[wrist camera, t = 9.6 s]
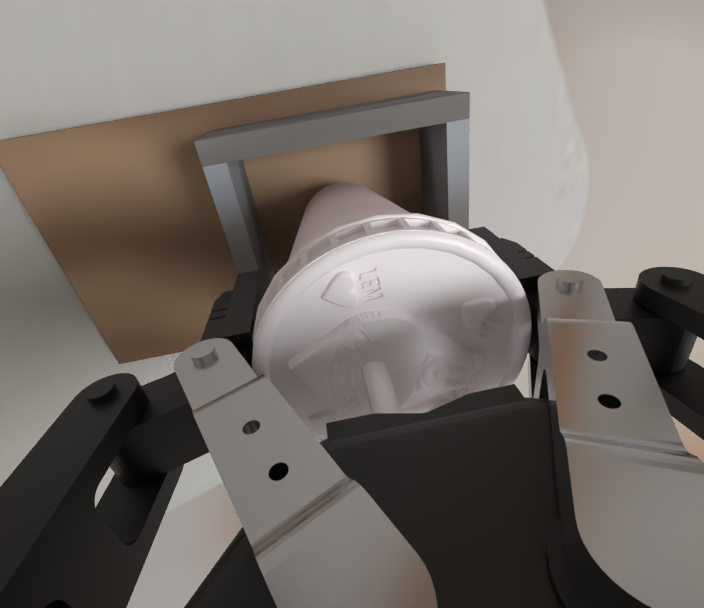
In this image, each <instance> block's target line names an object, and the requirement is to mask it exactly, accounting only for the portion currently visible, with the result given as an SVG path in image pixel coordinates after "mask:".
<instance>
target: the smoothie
mask: <svg viewBox="0 0 704 608" xmlns="http://www.w3.org/2000/svg"><path fill="white" fill-rule="evenodd" d="M531 328H532V323H531V312H530V307H529V303H528V300H527V297H526V294H525V291H524V289H523V287H522V285H521V283H520V281H519V280H518V278H517V277H516V275H515V274H514V273H513V271H512V270H511V269H510V268H509V267H508V266H507V265H506V263H504V262H503V261H502V260H501V259H500V258H499V257H498V255H497V254H496V253H495V252H494V251H493V249H492V248H491V247H490V246H489V245H488V243H487V242H486V241H485V240H484V239H482V238H480V237H479V236H477V235H475V234H474V233H472V232H470V231H469V230H467V229H465V228H464V227H462V226H460V225H459V224H457V223H455V222H452V221H448V220H444V219H439V218H435V217H431V216H427V215H423V214H419V213H410V212H408V211H406V210H404V209H403V208H401V207H399V206H397V205H396V204H394V203H392V202H391V201H389V200H387V199H385V198H384V197H382V196H380V195H379V194H377V193H375V192H373V191H372V190H370V189H368V188H366V187H365V186H362V185H360V184H356V183H351V182H340V183H335V184H332V185H329V186H327V187H325V188H323V189H322V190H320V191H319V192H318V193H317V194H315V195H314V197H313V198H312V199H311V200H310V202H309V203H308V205H307V207H306V209H305V212H304V215H303V218H302V221H301V224H300V227H299V230H298V233H297V236H296V239H295V242H294V245H293V248H292V251H291V254H290V257H289V260H288V262H287V263H286V264H285V265H284V266H283V267H282V268H281V269H280V270H279V271H278V273H277V274H276V275H275V276H274V277H273V279H272V281H271V283H270V285H269V287H268V289H267V291H266V293H265V294H264V296H263V298H262V300H261V302H260V304H259V306H258V309H257V314H256V320H255V326H254V331H253V337H252V340H253V354H252V370H253V371H254V372H255V374H256V375H257V376H260V375H262V374H264V375H266V376H267V378H268V379H269V380H270V381H271V382H272V384H273V385H274V386H275V387H276V389H277V390H278V391H279V392H280V394H281V395H282V396H283V398H284V399H285V400H286V401H287V403H288V404H289V405H290V406H291V408H292V409H293V410H294V411H295V413H296V414H297V415H298V416H299V418H300V419H301V420H302V421H303V423H304V424H305V425H306V426H307V428H308V429H309V430H310V431H311V433H312V434H313V435H314V436H315V438H316V439H317V440H318V441H319V442H321V441H323V440H325V439H327V428H326V423H330V422H334V421H339V420H344V419H349V418H354V417H358V416H363V415H368V414H373V413H425V412H429V411H431V410H433V409H435V408H438V407H440V406H442V405H444V404H447V403H449V402H451V401H453V400H455V399H458V398H460V397H462V396H464V395H466V394H469V393H473V392H478V391H483V390H488V389H493V388H497V387H502V386H507V385H512V384H514V382H515V380H516V379H517V377H518V375H519V373H520V371H521V369H522V367H523V364H524V362H525V359H526V357H527V353H528V350H529V345H530V339H531Z"/></svg>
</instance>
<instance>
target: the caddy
mask: <svg viewBox="0 0 704 608" xmlns="http://www.w3.org/2000/svg"><path fill="white" fill-rule="evenodd" d="M469 103H470V92H458V91H446V81H445V63H440V64H434V65H428V66H422V67H417V68H411V69H405V70H400V71H394V72H388V73H383V74H377V75H371V76H366V77H360V78H354V79H348V80H343V81H337V82H331V83H326V84H320V85H314V86H309V87H303V88H297V89H292V90H286V91H280V92H275V93H269V94H263V95H257V96H252V97H246V98H240V99H235V100H229V101H223V102H218V103H212V104H206V105H201V106H195V107H189V108H184V109H178V110H172V111H166V112H161V113H155V114H149V115H144V116H138V117H132V118H127V119H121V120H115V121H110V122H104V123H98V124H93V125H87V126H81V127H75V128H70V129H64V130H58V131H53V132H47V133H41V134H36V135H30V136H24V137H19V138H13V139H7V140H2V141H0V166H1V167H2V169H3V171H4V172H5V174H6V176H7V177H8V179H9V181H10V182H11V184H12V186H13V187H14V189H15V191H16V192H17V194H18V196H19V197H20V199H21V201H22V202H23V204H24V206H25V208H26V209H27V211H28V213H29V214H30V216H31V218H32V219H33V221H34V223H35V224H36V226H37V228H38V229H39V231H40V233H41V234H42V236H43V238H44V239H45V241H46V243H47V244H48V246H49V248H50V249H51V251H52V253H53V254H54V256H55V258H56V259H57V261H58V263H59V264H60V266H61V268H62V269H63V271H64V273H65V274H66V276H67V278H68V279H69V281H70V283H71V284H72V286H73V288H74V289H75V291H76V293H77V294H78V296H79V298H80V299H81V301H82V303H83V304H84V306H85V308H86V309H87V311H88V313H89V314H90V316H91V318H92V319H93V321H94V323H95V324H96V326H97V328H98V329H99V331H100V333H101V334H102V336H103V338H104V339H105V341H106V343H107V344H108V346H109V348H110V349H111V351H112V353H113V354H114V356H115V358H116V359H117V361H118V363H119V364H122V363H127V362H132V361H137V360H142V359H147V358H152V357H157V356H162V355H167V354H172V353H177V352H182V351H185V350H186V349H187V348H189V347H190V346H192V345H194V344H196V343H199V342H200V341H201V338H202V335H203V332H204V329H205V327H206V324H207V321H209V320H208V318H209V315H210V313H211V310H212V307H213V304H214V301H215V300H216V299H217V298H218V297H219V296H220V295H221V294H222V293H223V292H225V291H231V290H233V288H234V285H235V281H236V278H237V274H238V273H243V272H248V271H254V270H259V269H262V270H263V272H264V274H265V277H266V281H267V284H268V287H269V285H270V283H271V281H272V279H273V277H274V276H275V275H276V274H277V273H278V271H279V270H280V269H281V268H282V267H283V266H284V265H285V264H286V263H287V262H288V260H289V257H290V254H291V251H292V248H293V245H294V242H295V239H296V236H297V233H298V230H299V227H300V224H301V221H302V218H303V215H304V212H305V209H306V207H307V205H308V203H309V202H310V200H311V199H312V198H313V197H314V195H315V194H317V193H318V192H319V191H320V190H322V189H323V188H325V187H327V186H329V185H332V184H335V183H340V182H351V183H356V184H360V185H362V186H365V187H366V188H368V189H370V190H372V191H373V192H375V193H377V194H379V195H380V196H382V197H384V198H385V199H387V200H389V201H391V202H392V203H394V204H396V205H397V206H399V207H401V208H403V209H404V210H406V211H408V212H410V213H419V214H423V215H427V216H431V217H435V218H439V219H444V220H448V221H452V222H455V223H457V224H459V225H460V226H462V227H464V228H465V229H467V230H469Z"/></svg>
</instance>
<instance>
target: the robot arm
mask: <svg viewBox="0 0 704 608" xmlns="http://www.w3.org/2000/svg"><path fill="white" fill-rule="evenodd" d="M469 231H470V232H472V233H474V234H475V235H477V236H479V237H480V238H482V239H484V240H485V241H486V242H487V243H488V245H489V246H490V247H491V248H492V249H493V251H494V252H495V253H496V254H497V255H498V257H499V258H500V259H501V260H502V261H503V262H504V263H506V265H507V266H508V267H509V268H510V269H511V270H512V271H513V273H514V274H515V275H516V277H517V278H518V280H519V281H520V283H521V285H522V287H523V289H524V291H525V294H526V297H527V300H528V303H529V307H530V312H531V323H532V328H531V339H530V345H529V350H528V353H529V361H528V379H529V398H524V397H523V395H522V394H521V392H520V391H519V390H518V388H517V387H516V386H515V384H512V385H507V386H502V387H497V388H493V389H488V390H483V391H478V392H473V393H469V394H466V395H464V396H462V397H460V398H458V399H455V400H453V401H451V402H449V403H447V404H444V405H442V406H440V407H438V408H435V409H433V410H431V411H429V412H425V413H373V414H368V415H363V416H358V417H354V418H349V419H344V420H339V421H334V422H330V423H326V428H327V439H325V440H323V441H321V442H319V441H318V440H317V439H316V438H315V436H314V435H313V434H312V433H311V431H310V430H309V429H308V428H307V426H306V425H305V424H304V423H303V421H302V420H301V419H300V418H299V416H298V415H297V414H296V413H295V411H294V410H293V409H292V408H291V406H290V405H289V404H288V403H287V401H286V400H285V399H284V398H283V396H282V395H281V394H280V392H279V391H278V390H277V389H276V387H275V386H274V385H273V384H272V382H271V381H270V380H269V379H268V378H267V376H266V375H264V374H262V375H260V376H257V375H256V374H255V372H254V371H253V370H252V354H253V340H252V337H253V331H254V326H255V320H256V314H257V309H258V306H259V304H260V302H261V300H262V298H263V296H264V294H265V293H266V291H267V289H268V284H267V281H266V277H265V274H264V272H263V270H262V269H259V270H254V271H248V272H243V273H238V274H237V278H236V281H235V285H234V288H233V290H231V291H225V292H223V293H222V294H221V295H220V296H219V297H218V298H217V299H216V300H215V301H214V304H213V307H212V310H211V313H210V315H209V318H208V320H209V321H207V324H206V327H205V329H204V332H203V335H202V338H201V341H200V342H199V343H196V344H194V345H192V346H190V347H189V348H187V349H186V350H185V351H183V352H182V353H181V354H180V355H179V356H178V358H177V359H176V361H175V363H174V370H175V372H174V373H172V374H170V375H168V376H165V377H163V378H160V379H158V380H155V381H153V382H151V383H148V384H146V385H143V386H141V385H140V383H139V382H138V380H137V378H136V377H135V376H134V375H132V374H129V373H120V374H114V375H111V376H108V377H105V378H102V379H100V380H98V381H96V382H94V383H92V384H91V385H89V386H88V387H86V388H85V389H84V390H82V391H81V392H80V393H79V394H78V395H77V396H76V397H75V398H74V399H73V400H72V401H71V403H70V404H69V405H68V406H67V407H66V409H65V410H64V411H63V412H62V413H61V415H60V416H59V417H58V418H57V419H56V421H55V422H54V423H53V424H52V425H51V427H50V428H49V429H48V430H47V431H46V433H45V434H44V435H43V436H42V438H41V439H40V440H39V441H38V442H37V444H36V445H35V446H34V447H33V448H32V450H31V451H30V452H29V453H28V454H27V456H26V457H25V458H24V459H23V460H22V462H21V463H20V464H19V465H18V466H17V468H16V469H15V470H14V471H13V473H12V474H11V475H10V476H9V477H8V479H7V480H6V481H5V482H4V483H3V485H2V486H1V487H0V608H126V607H127V604H128V602H129V600H130V597H131V595H132V592H133V590H134V587H135V585H136V582H137V580H138V578H139V575H140V573H141V570H142V568H143V565H144V563H145V560H146V558H147V556H148V553H149V551H150V548H151V546H152V543H153V541H154V538H155V536H156V534H157V531H158V529H159V526H160V524H161V521H162V519H163V516H164V514H165V511H166V509H167V507H168V504H169V502H170V499H171V497H172V494H173V492H174V489H175V487H176V485H177V482H178V480H179V477H180V475H181V472H182V470H183V466H184V464H185V463H187V462H189V461H192V460H194V459H196V458H198V457H200V456H202V455H204V454H206V453H208V452H210V454H211V456H212V458H213V461H214V463H215V465H216V467H217V470H218V472H219V474H220V476H221V479H222V481H223V483H224V486H225V488H226V490H227V492H228V494H229V497H230V499H231V501H232V504H233V506H234V508H235V510H236V513H237V515H238V517H239V519H240V521H241V524H242V526H243V527H242V528H241V530H240V531H239V532H238V534H237V535H236V537H235V538H234V539H233V541H232V542H231V543H230V545H229V546H228V548H227V549H226V550H225V552H224V553H223V555H222V556H221V557H220V559H219V560H218V562H217V563H216V564H215V566H214V567H213V568H212V570H211V571H210V573H209V574H208V575H207V577H206V578H205V580H204V581H203V582H202V584H201V585H200V586H199V588H198V589H197V591H196V592H195V594H194V595H193V596H192V598H191V599H190V600H189V602H188V603H187V605H186V606H185V607H184V608H704V463H703V462H702V461H701V460H700V459H699V458H698V457H697V456H694V455H692V454H690V453H689V452H688V451H687V450H686V449H685V447H684V445H683V443H682V441H681V438H680V436H679V434H678V432H677V429H676V427H675V424H674V422H673V419H672V417H671V416H673V417H674V418H675V419H677V420H678V421H679V422H681V423H682V424H683V425H685V426H686V427H687V428H689V429H690V430H691V431H692V432H694V433H695V434H696V435H698V436H699V437H700V438H702V439H703V440H704V368H703V367H701V366H700V365H698V364H696V363H695V362H693V361H691V360H690V359H689V356H690V353H691V351H692V348H693V346H694V343H695V341H696V338H697V336H698V337H700V338H702V339H703V340H704V275H703V274H701V273H698V272H695V271H692V270H688V269H683V268H675V267H656V268H651V269H647V270H644V271H643V272H641V273H640V274H639V277H638V281H637V284H636V288H603V285H602V283H601V281H600V280H599V279H597V278H596V277H594V276H592V275H590V274H587V273H584V272H579V271H573V270H556V271H555V270H553V269H552V268H551V267H549V266H548V265H547V264H545V263H544V262H542V261H541V260H540V259H538V258H537V257H534V255H533V254H531V253H530V252H529V251H527V250H526V249H525V248H523V247H522V246H521V245H519V244H518V243H516V242H513V241H510V240H507V239H503V238H501V239H500V238H498V237H497V236H496V235H494V234H493V233H492V232H490V231H489V230H488V229H487V228H485V227H479V228H474V229H469ZM109 466H110V467H111V469H112V470H113V471H114V473H115V475H114V476H113V478H112V480H111V482H110V483H109V485H108V487H107V489H106V490H105V492H104V494H103V496H102V497H101V499H100V501H99V503H98V504H97V506H96V508H95V504H94V500H95V493H96V490H97V487H98V485H99V483H100V481H101V480H102V478H103V476H104V475H105V473H106V471H107V470H108V468H109Z"/></svg>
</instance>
